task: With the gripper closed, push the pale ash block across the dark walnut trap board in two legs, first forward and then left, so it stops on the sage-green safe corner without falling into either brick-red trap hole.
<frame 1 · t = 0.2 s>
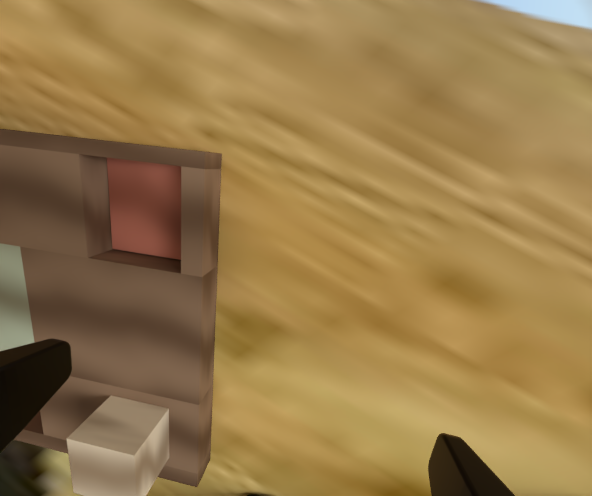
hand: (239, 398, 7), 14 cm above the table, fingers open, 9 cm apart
trap board: (80, 304, 25), on the table
block: (140, 426, 24), point 2 cm above the table, touching trap board
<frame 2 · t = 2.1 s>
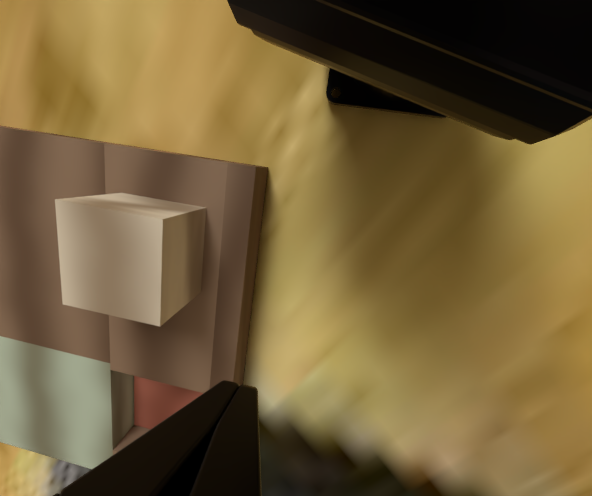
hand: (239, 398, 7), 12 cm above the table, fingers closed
trap board: (74, 304, 22), on the table
block: (162, 243, 17), point 2 cm above the table, touching trap board
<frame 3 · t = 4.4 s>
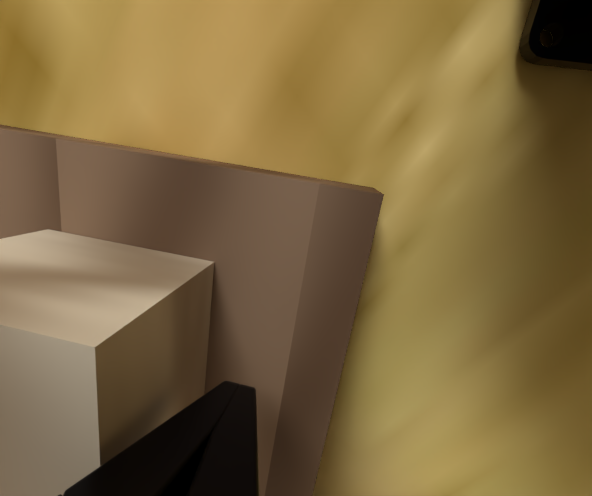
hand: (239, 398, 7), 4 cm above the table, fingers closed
trap board: (27, 395, 14), on the table
block: (129, 324, 9), point 3 cm above the table, touching gripper
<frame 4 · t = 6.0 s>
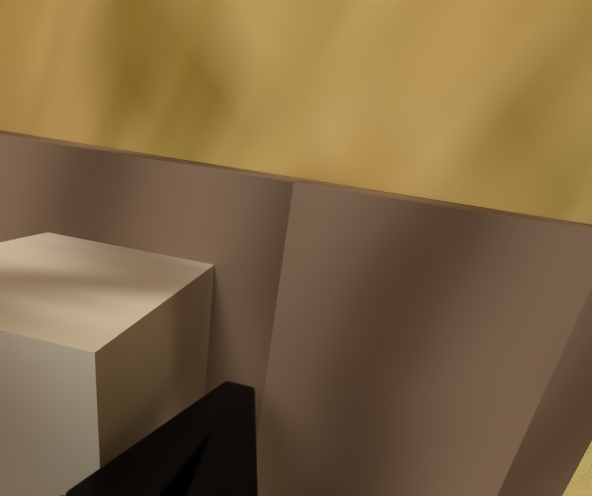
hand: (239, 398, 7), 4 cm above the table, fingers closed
trap board: (154, 434, 13), on the table
block: (129, 327, 9), point 2 cm above the table, touching gripper, trap board
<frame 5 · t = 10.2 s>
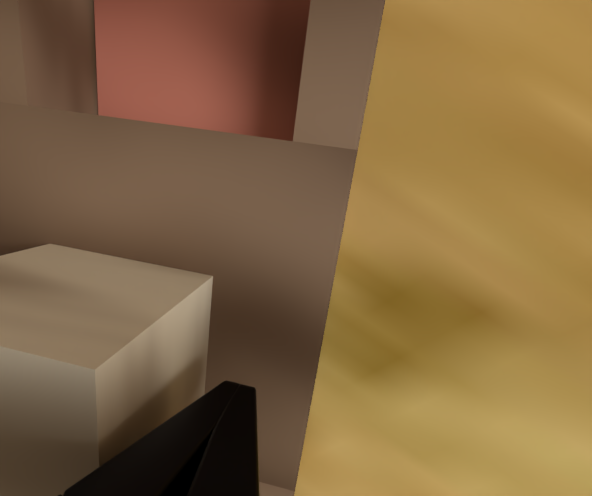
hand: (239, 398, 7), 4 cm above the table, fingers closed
trap board: (28, 256, 12), on the table
block: (129, 336, 9), point 2 cm above the table, touching gripper, trap board
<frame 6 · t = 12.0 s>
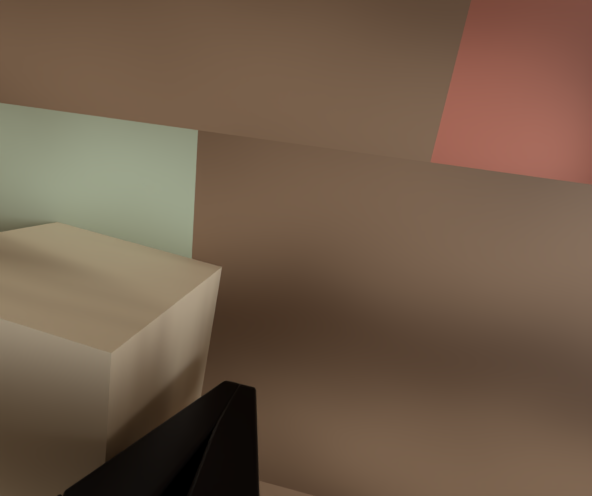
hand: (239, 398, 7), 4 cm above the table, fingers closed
trap board: (273, 305, 11), on the table
block: (131, 321, 9), point 3 cm above the table, touching gripper
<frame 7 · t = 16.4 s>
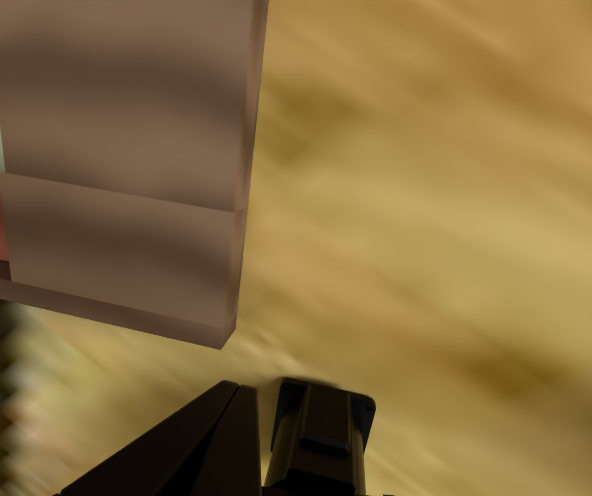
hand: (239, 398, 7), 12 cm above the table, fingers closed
trap board: (68, 94, 18), on the table
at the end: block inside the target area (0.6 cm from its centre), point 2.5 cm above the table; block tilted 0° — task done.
